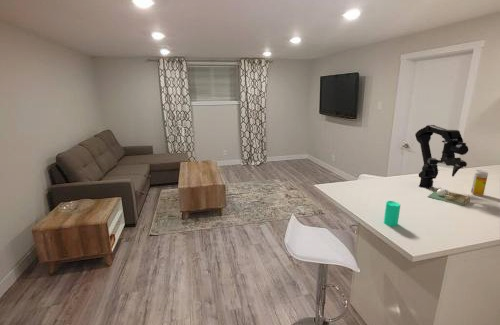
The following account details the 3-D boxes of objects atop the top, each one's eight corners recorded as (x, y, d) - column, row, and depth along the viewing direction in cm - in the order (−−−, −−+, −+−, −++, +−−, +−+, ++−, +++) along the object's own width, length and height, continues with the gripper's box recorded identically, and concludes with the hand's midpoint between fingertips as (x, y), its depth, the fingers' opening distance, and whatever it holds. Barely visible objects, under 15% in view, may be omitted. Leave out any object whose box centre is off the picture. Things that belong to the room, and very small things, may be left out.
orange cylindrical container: (485, 196, 161) (490, 172, 158) (474, 195, 162) (479, 172, 159) (479, 192, 167) (484, 170, 163) (468, 192, 168) (473, 169, 164)
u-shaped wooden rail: (444, 199, 156) (445, 195, 156) (448, 195, 162) (449, 191, 161) (465, 204, 149) (466, 200, 148) (469, 200, 155) (469, 196, 154)
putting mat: (427, 197, 161) (427, 196, 161) (434, 191, 170) (434, 191, 170) (464, 206, 148) (464, 205, 147) (469, 199, 156) (470, 199, 156)
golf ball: (435, 195, 162) (436, 188, 160) (437, 194, 164) (438, 187, 163) (443, 197, 158) (445, 190, 157) (446, 196, 161) (447, 189, 160)
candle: (381, 220, 131) (384, 198, 128) (392, 220, 131) (395, 197, 128) (388, 226, 125) (391, 203, 122) (400, 226, 126) (403, 202, 123)
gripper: (434, 152, 154) (430, 178, 158) (473, 155, 148) (467, 181, 152) (429, 148, 164) (424, 172, 168) (465, 150, 159) (459, 175, 163)
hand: (443, 175), depth 163 cm, fingers open, 9 cm apart
